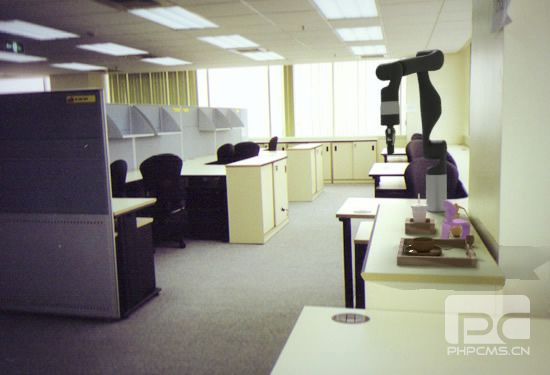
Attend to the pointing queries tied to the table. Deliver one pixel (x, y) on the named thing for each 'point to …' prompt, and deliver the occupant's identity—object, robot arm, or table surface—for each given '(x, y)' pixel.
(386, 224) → the table surface
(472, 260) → the tray rim
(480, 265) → the table surface
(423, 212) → the smoothie
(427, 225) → the holder
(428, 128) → the robot arm
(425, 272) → the table surface
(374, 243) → the table surface
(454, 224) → the toy chair
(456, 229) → the figurine
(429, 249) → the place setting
